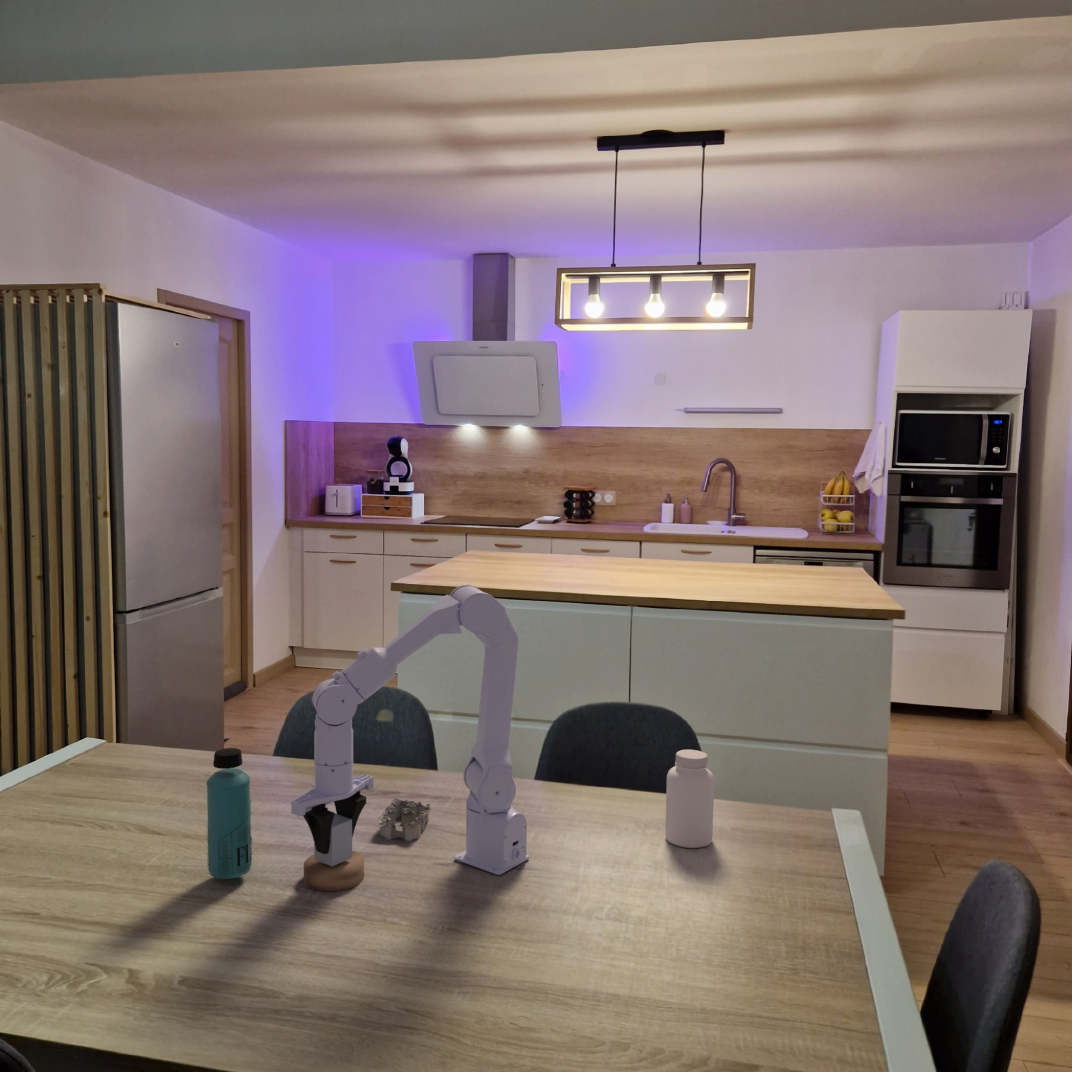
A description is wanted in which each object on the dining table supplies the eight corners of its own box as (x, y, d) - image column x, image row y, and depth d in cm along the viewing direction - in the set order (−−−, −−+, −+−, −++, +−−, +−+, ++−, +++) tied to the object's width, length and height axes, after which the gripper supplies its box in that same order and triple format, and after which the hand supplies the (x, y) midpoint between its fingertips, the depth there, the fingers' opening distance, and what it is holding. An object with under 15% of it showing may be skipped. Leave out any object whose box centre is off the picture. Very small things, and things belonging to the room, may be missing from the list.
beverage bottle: (238, 891, 137) (237, 759, 135) (198, 886, 138) (196, 755, 137) (260, 872, 143) (259, 745, 142) (221, 867, 145) (219, 742, 143)
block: (352, 857, 142) (352, 819, 142) (332, 866, 139) (331, 827, 138) (334, 850, 144) (334, 813, 144) (314, 859, 141) (313, 821, 141)
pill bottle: (709, 831, 162) (713, 747, 161) (714, 851, 154) (717, 763, 153) (664, 828, 163) (666, 745, 161) (665, 848, 155) (668, 760, 154)
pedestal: (376, 875, 143) (376, 860, 143) (331, 897, 136) (331, 881, 135) (336, 859, 148) (336, 844, 148) (291, 880, 141) (291, 864, 141)
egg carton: (416, 844, 155) (417, 820, 155) (373, 840, 157) (374, 816, 156) (434, 819, 166) (434, 797, 165) (394, 815, 167) (394, 793, 167)
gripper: (351, 743, 148) (351, 825, 150) (277, 766, 137) (278, 855, 138) (383, 752, 144) (382, 836, 146) (309, 777, 133) (309, 869, 134)
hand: (334, 847), depth 141 cm, fingers closed on block, 4 cm apart
